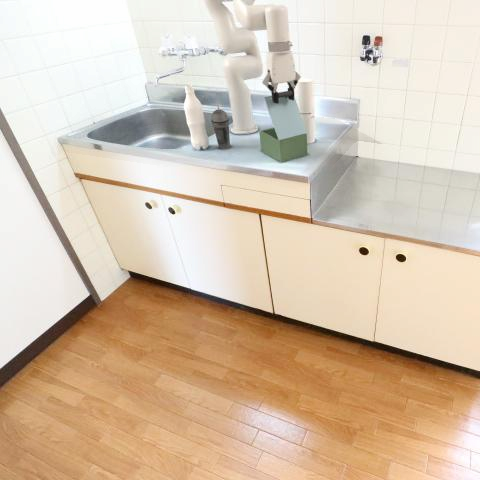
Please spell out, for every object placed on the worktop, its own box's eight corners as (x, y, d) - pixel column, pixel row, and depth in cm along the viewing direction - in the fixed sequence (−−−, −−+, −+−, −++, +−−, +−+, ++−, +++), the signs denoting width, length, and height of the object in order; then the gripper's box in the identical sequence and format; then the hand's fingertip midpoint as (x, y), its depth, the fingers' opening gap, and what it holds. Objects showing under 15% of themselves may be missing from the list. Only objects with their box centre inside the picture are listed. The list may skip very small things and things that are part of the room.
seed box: (261, 150, 155) (259, 130, 150) (286, 143, 161) (285, 124, 156) (281, 162, 144) (279, 141, 140) (307, 154, 150) (306, 134, 146)
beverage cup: (231, 143, 162) (224, 95, 151) (234, 148, 157) (227, 99, 145) (214, 145, 160) (206, 97, 149) (217, 151, 155) (208, 101, 143)
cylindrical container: (296, 139, 165) (292, 79, 150) (310, 136, 167) (308, 77, 153) (303, 144, 160) (300, 82, 145) (317, 141, 162) (316, 80, 148)
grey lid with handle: (263, 97, 138) (268, 91, 133) (291, 92, 144) (298, 86, 139) (278, 140, 140) (284, 136, 135) (306, 133, 146) (313, 128, 141)
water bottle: (207, 150, 155) (195, 87, 141) (190, 151, 156) (176, 88, 141) (211, 144, 161) (200, 83, 147) (195, 144, 161) (182, 83, 147)
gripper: (294, 44, 136) (297, 95, 146) (251, 49, 127) (258, 103, 137) (305, 45, 131) (308, 99, 141) (262, 50, 122) (268, 107, 132)
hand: (283, 100), depth 139 cm, fingers closed on grey lid with handle, 6 cm apart
